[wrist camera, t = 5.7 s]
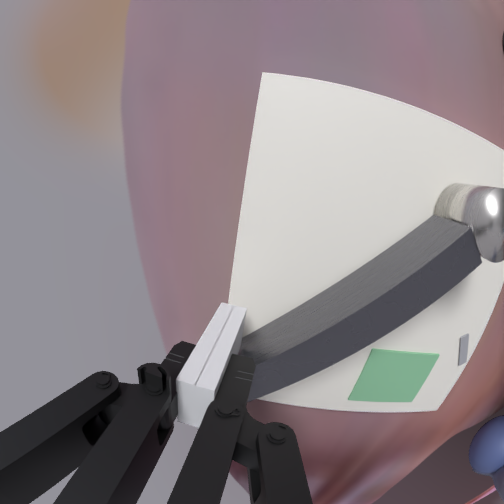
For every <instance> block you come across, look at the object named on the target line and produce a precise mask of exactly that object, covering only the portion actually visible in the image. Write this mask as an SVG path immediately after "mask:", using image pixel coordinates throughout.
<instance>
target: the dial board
mask: <svg viewBox="0 0 504 504" xmlns="http://www.w3.org/2000/svg"><path fill="white" fill-rule="evenodd" d="M453 183H463V184H472V185H481V186H489V187H497V188H503V189H504V150H502V149H501V148H499V147H498V146H496V145H494V144H493V143H491V142H489V141H487V140H486V139H484V138H482V137H480V136H478V135H477V134H475V133H473V132H471V131H469V130H467V129H465V128H463V127H461V126H459V125H457V124H455V123H453V122H450V121H448V120H446V119H444V118H442V117H439V116H437V115H435V114H432V113H430V112H427V111H425V110H422V109H420V108H417V107H415V106H412V105H409V104H406V103H403V102H401V101H398V100H395V99H392V98H389V97H385V96H382V95H379V94H375V93H372V92H368V91H365V90H361V89H357V88H353V87H349V86H345V85H341V84H336V83H331V82H326V81H321V80H316V79H310V78H304V77H298V76H290V75H283V74H274V73H264V72H263V73H262V79H261V84H260V90H259V96H258V102H257V108H256V115H255V121H254V127H253V133H252V140H251V146H250V152H249V159H248V165H247V172H246V179H245V185H244V192H243V199H242V206H241V213H240V220H239V227H238V234H237V241H236V248H235V255H234V263H233V270H232V278H231V285H230V293H229V301H228V304H231V305H235V306H240V307H244V308H247V311H246V317H245V323H244V329H243V335H242V338H243V337H244V336H246V335H248V334H250V333H252V332H254V331H255V330H257V329H259V328H261V327H263V326H265V325H266V324H268V323H270V322H272V321H273V320H275V319H277V318H279V317H280V316H282V315H284V314H286V313H287V312H289V311H291V310H293V309H294V308H296V307H298V306H299V305H301V304H303V303H304V302H306V301H308V300H309V299H311V298H313V297H314V296H316V295H318V294H319V293H321V292H322V291H324V290H326V289H327V288H329V287H330V286H332V285H334V284H335V283H337V282H338V281H340V280H341V279H343V278H345V277H346V276H348V275H349V274H351V273H352V272H354V271H355V270H357V269H358V268H360V267H361V266H363V265H364V264H366V263H367V262H369V261H370V260H372V259H373V258H375V257H376V256H378V255H379V254H380V253H382V252H383V251H385V250H386V249H388V248H389V247H390V246H392V245H393V244H395V243H396V242H398V241H399V240H400V239H402V238H403V237H404V236H406V235H407V234H409V233H410V232H411V231H413V230H414V229H415V228H417V227H418V226H419V225H421V224H422V223H423V222H425V221H426V220H427V219H429V218H430V217H431V216H432V215H436V205H437V201H438V198H439V196H440V194H441V192H442V191H443V190H444V189H445V188H446V187H447V186H448V185H450V184H453ZM481 260H482V264H480V265H479V266H478V267H477V268H476V269H475V270H474V271H473V272H471V273H470V274H469V275H468V276H467V277H465V278H464V279H463V280H462V281H461V282H459V283H458V284H457V285H456V286H455V287H453V288H452V289H451V290H450V291H448V292H447V293H446V294H444V295H443V296H442V297H441V298H439V299H438V300H437V301H435V302H434V303H433V304H431V305H430V306H428V307H427V308H426V309H424V310H423V311H421V312H420V313H419V314H417V315H416V316H414V317H413V318H411V319H410V320H408V321H407V322H405V323H404V324H402V325H401V326H399V327H398V328H396V329H395V330H393V331H392V332H390V333H388V334H387V335H385V336H383V337H382V338H380V339H379V340H377V341H375V342H374V343H372V344H370V345H368V346H367V347H365V348H363V349H361V350H360V351H358V352H356V353H354V354H352V355H351V356H349V357H347V358H345V359H343V360H341V361H339V362H338V363H336V364H334V365H332V366H330V367H328V368H326V369H324V370H322V371H320V372H318V373H315V374H313V375H311V376H309V377H307V378H305V379H303V380H300V381H298V382H296V383H294V384H291V385H289V386H287V387H285V388H282V389H280V390H277V391H275V392H272V393H270V394H267V395H265V396H262V397H260V398H257V399H260V400H265V401H270V402H276V403H282V404H288V405H295V406H302V407H310V408H319V409H329V410H341V411H357V412H420V411H435V410H437V409H438V408H439V406H440V405H441V404H442V402H443V401H444V399H445V398H446V396H447V395H448V393H449V392H450V390H451V389H452V387H453V386H454V384H455V383H456V381H457V379H458V378H459V376H460V375H461V373H462V371H463V370H464V368H465V366H466V364H467V363H468V361H469V359H470V357H471V355H472V354H473V352H474V350H475V348H476V346H477V344H478V342H479V340H480V338H481V336H482V334H483V332H484V330H485V327H486V325H487V323H488V321H489V318H490V316H491V314H492V311H493V309H494V307H495V304H496V301H497V299H498V296H499V294H500V291H501V288H502V285H503V282H504V261H502V262H499V263H493V262H490V261H488V260H486V259H485V258H483V257H481Z"/></svg>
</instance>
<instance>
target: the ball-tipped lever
mask: <svg viewBox="0 0 504 504" xmlns="http://www.w3.org/2000/svg"><path fill="white" fill-rule="evenodd" d="M481 257H483V258H485V259H486V260H488V261H490V262H493V263H499V262H502V261H504V189H503V188H497V187H489V186H481V185H472V184H463V183H453V184H450V185H448V186H447V187H446V188H445V189H444V190H443V191H442V192H441V194H440V196H439V198H438V201H437V205H436V215H432V216H431V217H430V218H429V219H427V220H426V221H425V222H423V223H422V224H421V225H419V226H418V227H417V228H415V229H414V230H413V231H411V232H410V233H409V234H407V235H406V236H404V237H403V238H402V239H400V240H399V241H398V242H396V243H395V244H393V245H392V246H390V247H389V248H388V249H386V250H385V251H383V252H382V253H380V254H379V255H378V256H376V257H375V258H373V259H372V260H370V261H369V262H367V263H366V264H364V265H363V266H361V267H360V268H358V269H357V270H355V271H354V272H352V273H351V274H349V275H348V276H346V277H345V278H343V279H341V280H340V281H338V282H337V283H335V284H334V285H332V286H330V287H329V288H327V289H326V290H324V291H322V292H321V293H319V294H318V295H316V296H314V297H313V298H311V299H309V300H308V301H306V302H304V303H303V304H301V305H299V306H298V307H296V308H294V309H293V310H291V311H289V312H287V313H286V314H284V315H282V316H280V317H279V318H277V319H275V320H273V321H272V322H270V323H268V324H266V325H265V326H263V327H261V328H259V329H257V330H255V331H254V332H252V333H250V334H248V335H246V336H244V337H243V338H242V341H241V347H240V350H239V353H238V355H241V356H245V357H250V358H253V360H254V363H255V365H256V367H255V371H254V376H253V380H252V385H251V389H250V393H249V397H248V401H247V402H249V401H252V400H255V399H257V398H260V397H262V396H265V395H267V394H270V393H272V392H275V391H277V390H280V389H282V388H285V387H287V386H289V385H291V384H294V383H296V382H298V381H300V380H303V379H305V378H307V377H309V376H311V375H313V374H315V373H318V372H320V371H322V370H324V369H326V368H328V367H330V366H332V365H334V364H336V363H338V362H339V361H341V360H343V359H345V358H347V357H349V356H351V355H352V354H354V353H356V352H358V351H360V350H361V349H363V348H365V347H367V346H368V345H370V344H372V343H374V342H375V341H377V340H379V339H380V338H382V337H383V336H385V335H387V334H388V333H390V332H392V331H393V330H395V329H396V328H398V327H399V326H401V325H402V324H404V323H405V322H407V321H408V320H410V319H411V318H413V317H414V316H416V315H417V314H419V313H420V312H421V311H423V310H424V309H426V308H427V307H428V306H430V305H431V304H433V303H434V302H435V301H437V300H438V299H439V298H441V297H442V296H443V295H444V294H446V293H447V292H448V291H450V290H451V289H452V288H453V287H455V286H456V285H457V284H458V283H459V282H461V281H462V280H463V279H464V278H465V277H467V276H468V275H469V274H470V273H471V272H473V271H474V270H475V269H476V268H477V267H478V266H479V265H480V264H482V260H481Z"/></svg>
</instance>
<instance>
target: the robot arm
mask: <svg viewBox="0 0 504 504" xmlns="http://www.w3.org/2000/svg"><path fill="white" fill-rule="evenodd" d="M503 46H504V33H503ZM246 311H247V308H244V307H240V306H235V305H231V304H226V303H221V304H220V306H219V308H218V309H217V311H216V313H215V315H214V316H213V318H212V320H211V321H210V323H209V325H208V326H207V328H206V330H205V331H204V333H203V335H202V336H201V338H200V340H199V341H198V343H197V345H194V344H191V343H187V342H184V341H181V342H180V343H178V344H176V345H174V346H173V348H172V349H171V351H170V352H169V354H168V355H167V356H166V359H164V361H163V362H162V363H161V364H157V363H146V364H144V365H141V366H140V367H139V368H138V369H137V370H138V377H139V384H128V383H121V382H119V381H118V378H117V377H116V376H115V375H114V374H112V373H110V372H106V371H101V372H97V373H94V374H92V375H91V376H89V377H88V378H86V379H84V380H83V381H81V382H80V383H78V384H77V385H75V386H74V387H72V388H70V389H69V390H67V391H66V392H64V393H63V394H61V395H59V396H58V397H56V398H55V399H53V400H52V401H50V402H48V403H47V404H45V405H44V406H42V407H40V408H39V409H37V410H36V411H34V412H33V413H31V414H29V415H28V416H26V417H24V418H23V419H21V420H20V421H18V422H16V423H15V424H13V425H11V426H10V427H8V428H7V429H5V430H3V431H2V432H0V504H29V503H31V502H32V501H34V500H35V499H36V498H38V497H39V496H41V495H42V494H43V493H45V492H46V491H47V490H49V489H50V488H52V487H53V486H54V485H56V484H57V483H58V482H59V481H61V480H62V479H63V478H65V477H66V476H67V475H69V474H70V473H71V472H72V471H74V470H75V469H76V468H77V467H79V468H78V469H77V471H76V472H75V473H74V475H73V476H72V478H71V479H70V480H69V482H68V483H67V485H66V486H65V488H64V489H63V490H62V492H61V493H60V495H59V496H58V498H57V499H56V501H55V502H54V503H53V504H136V503H137V501H138V499H139V497H140V495H141V493H142V491H143V489H144V487H145V485H146V483H147V481H148V479H149V478H150V476H151V474H152V472H153V470H154V468H155V466H156V464H157V462H158V460H159V458H160V456H161V454H162V452H163V450H164V448H165V446H166V444H167V442H168V440H169V438H170V435H171V434H172V432H173V428H174V424H173V422H174V420H175V419H176V417H177V419H178V421H179V422H181V423H184V424H187V425H191V426H194V427H197V428H199V429H198V432H197V434H196V436H195V439H194V441H193V444H192V446H191V448H190V451H189V453H188V456H187V458H186V460H185V463H184V465H183V468H182V470H181V472H180V474H179V477H178V479H177V481H176V484H175V486H174V488H173V491H172V493H171V495H170V498H169V500H168V502H167V504H220V500H221V497H222V493H223V490H224V487H225V484H226V480H227V477H228V473H229V470H230V466H231V462H232V460H234V461H236V462H238V463H240V464H242V465H244V466H246V467H247V470H248V481H249V491H250V501H251V504H313V503H312V499H311V495H310V491H309V487H308V483H307V479H306V475H305V471H304V467H303V463H302V459H301V455H300V451H299V447H298V443H297V439H296V435H295V433H294V431H293V430H292V429H291V428H290V427H289V426H287V425H285V424H283V423H277V422H273V423H267V424H266V425H264V424H262V423H260V422H258V421H256V420H255V419H253V418H252V417H251V416H250V415H249V413H248V412H247V409H246V405H247V401H248V397H249V393H250V389H251V385H252V380H253V376H254V371H255V367H256V365H255V363H254V360H253V358H250V357H245V356H241V355H238V353H239V350H240V347H241V341H242V335H243V329H244V323H245V317H246Z"/></svg>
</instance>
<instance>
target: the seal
mask: <svg viewBox="0 0 504 504" xmlns="http://www.w3.org/2000/svg"><path fill="white" fill-rule="evenodd" d="M469 461H470V464H471V466H472V467H473V471H474V472H476V473H478V474H482V475H486V476H491V477H492V479H493V481H494V485H495V488H496V489H497V491H498V493H499V495H500V497H501V499H502V500H503V502H504V415H503V416H498V417H495V418H493V419H491V420H490V421H488V422H487V423H485V424H484V425H483V426H482V427H481V428H480V430H479V431H478V432H477V433H476V435H475V436H474V438H473V440H472V442H471V445H470V449H469Z"/></svg>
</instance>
